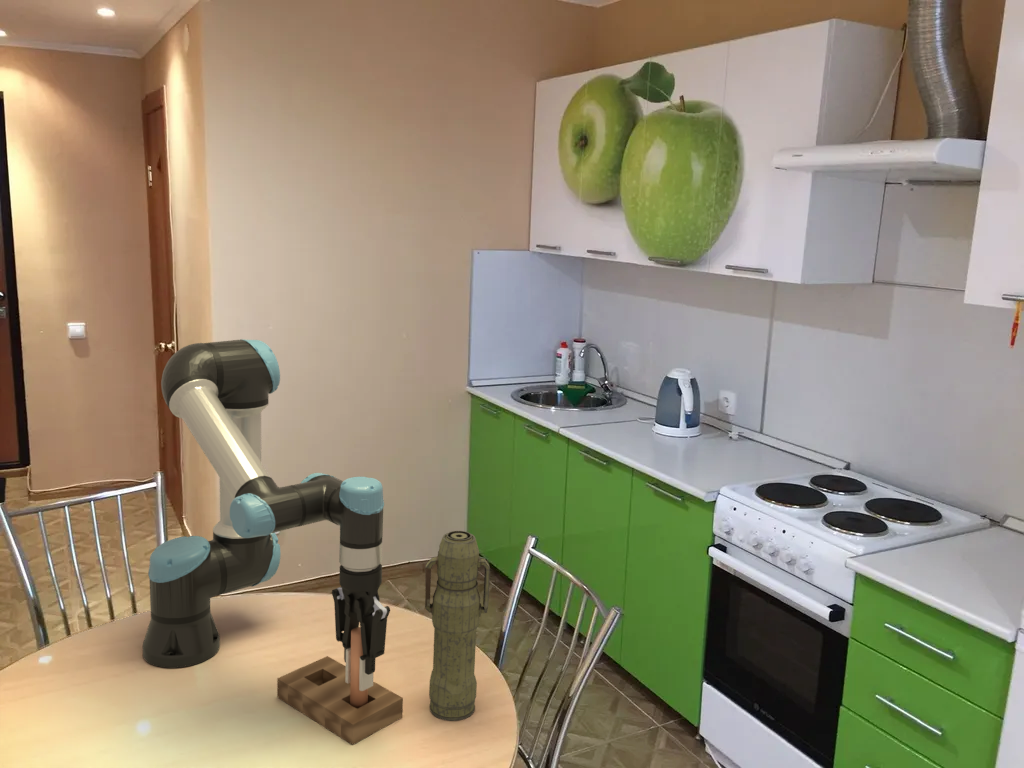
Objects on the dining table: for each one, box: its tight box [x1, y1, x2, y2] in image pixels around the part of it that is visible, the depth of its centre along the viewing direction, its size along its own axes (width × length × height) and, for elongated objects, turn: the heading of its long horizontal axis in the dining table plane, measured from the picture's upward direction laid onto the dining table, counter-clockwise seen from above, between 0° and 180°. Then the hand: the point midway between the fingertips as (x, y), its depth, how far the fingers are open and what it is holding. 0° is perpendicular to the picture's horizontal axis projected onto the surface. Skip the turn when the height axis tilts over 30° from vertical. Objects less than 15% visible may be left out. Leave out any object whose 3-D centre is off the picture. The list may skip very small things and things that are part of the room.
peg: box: [350, 626, 368, 709], centre depth 161 cm, size 3×3×15 cm
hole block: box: [276, 655, 404, 746], centre depth 166 cm, size 22×12×4 cm, turn 51°
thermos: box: [424, 530, 491, 722], centre depth 165 cm, size 9×12×35 cm
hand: (359, 683), depth 162 cm, fingers closed on peg, 3 cm apart
